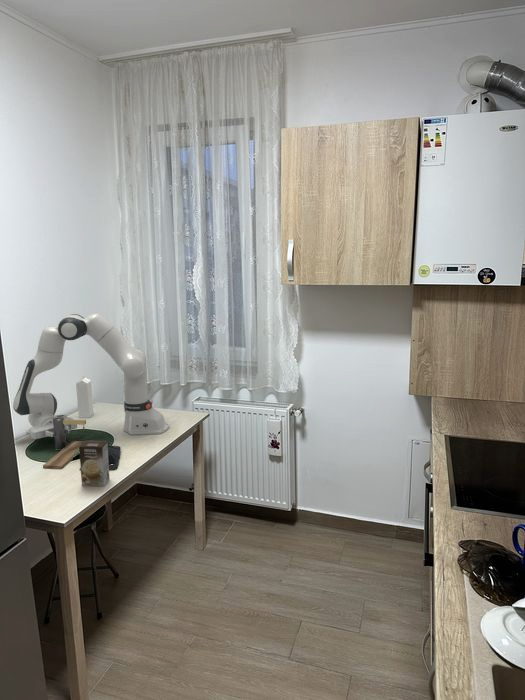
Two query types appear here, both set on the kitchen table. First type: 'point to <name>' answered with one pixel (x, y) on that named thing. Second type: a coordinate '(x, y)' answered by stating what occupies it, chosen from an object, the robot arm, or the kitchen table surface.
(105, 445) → the coffee box
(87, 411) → the milk
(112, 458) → the dark slate chunk
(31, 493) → the kitchen table surface
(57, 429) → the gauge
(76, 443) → the board
